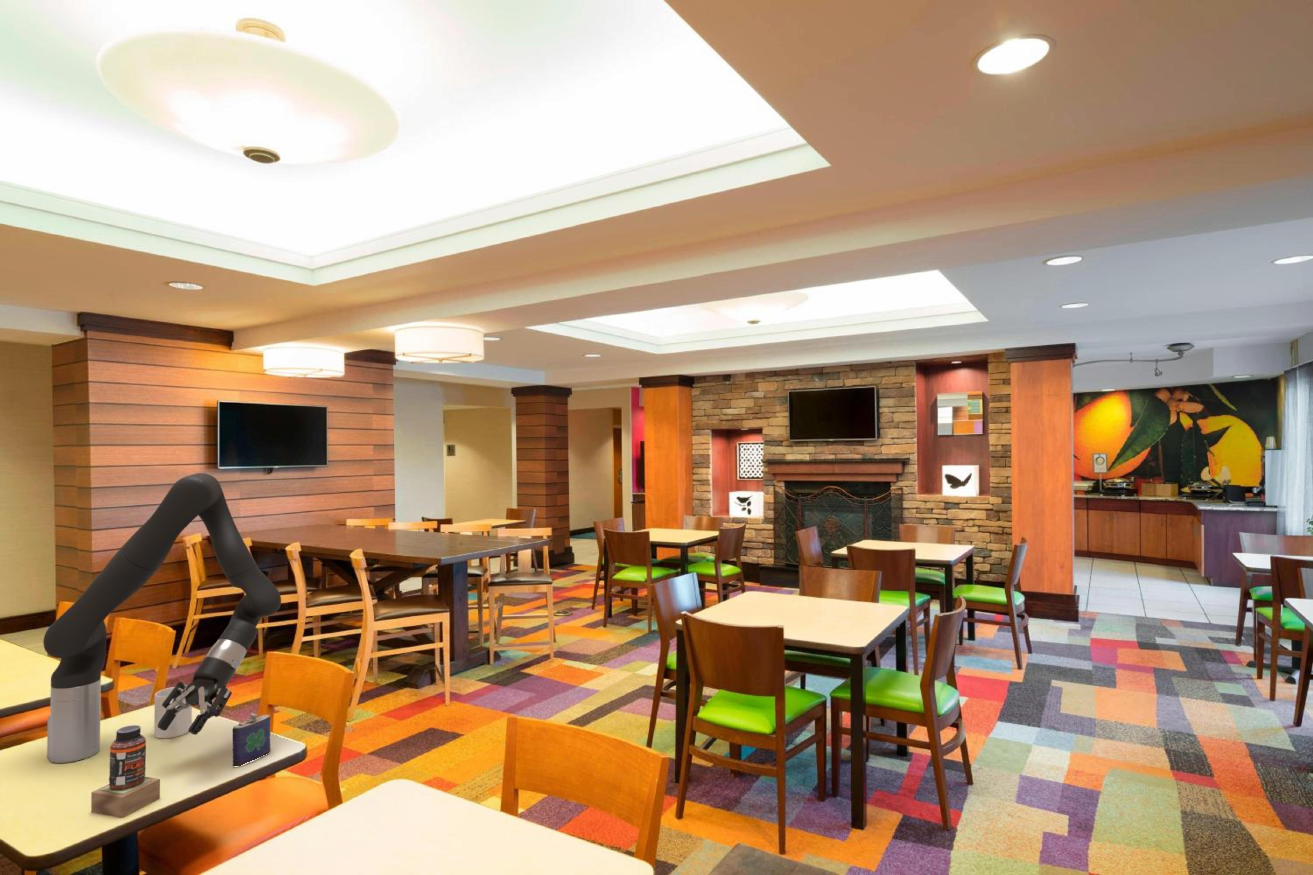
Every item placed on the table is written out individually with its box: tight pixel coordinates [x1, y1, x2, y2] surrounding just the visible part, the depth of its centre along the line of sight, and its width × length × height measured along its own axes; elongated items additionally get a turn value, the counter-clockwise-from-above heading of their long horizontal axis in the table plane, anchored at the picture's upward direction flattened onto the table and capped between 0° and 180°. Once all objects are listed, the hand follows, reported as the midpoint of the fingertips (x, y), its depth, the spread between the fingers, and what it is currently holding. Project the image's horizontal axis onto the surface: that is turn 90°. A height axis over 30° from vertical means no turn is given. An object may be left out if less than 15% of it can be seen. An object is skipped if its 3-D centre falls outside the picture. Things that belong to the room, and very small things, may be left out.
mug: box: [153, 686, 193, 739], centre depth 179 cm, size 12×8×10 cm, turn 34°
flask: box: [231, 712, 271, 767], centre depth 166 cm, size 9×3×11 cm, turn 157°
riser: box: [90, 776, 161, 819], centre depth 145 cm, size 8×8×4 cm
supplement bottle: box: [108, 724, 147, 790], centre depth 145 cm, size 6×6×11 cm
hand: (176, 730), depth 156 cm, fingers open, 8 cm apart
